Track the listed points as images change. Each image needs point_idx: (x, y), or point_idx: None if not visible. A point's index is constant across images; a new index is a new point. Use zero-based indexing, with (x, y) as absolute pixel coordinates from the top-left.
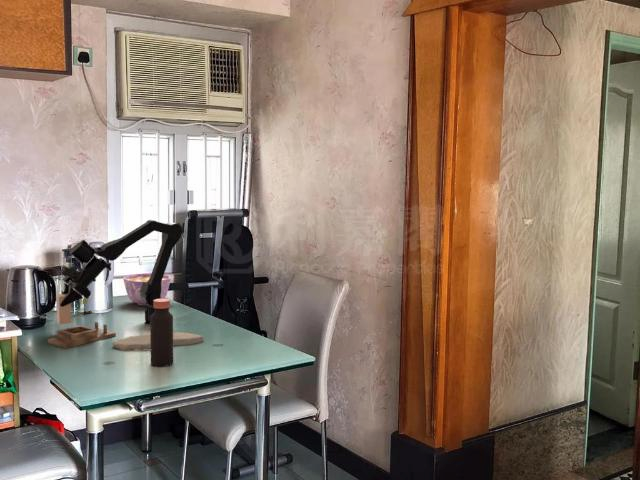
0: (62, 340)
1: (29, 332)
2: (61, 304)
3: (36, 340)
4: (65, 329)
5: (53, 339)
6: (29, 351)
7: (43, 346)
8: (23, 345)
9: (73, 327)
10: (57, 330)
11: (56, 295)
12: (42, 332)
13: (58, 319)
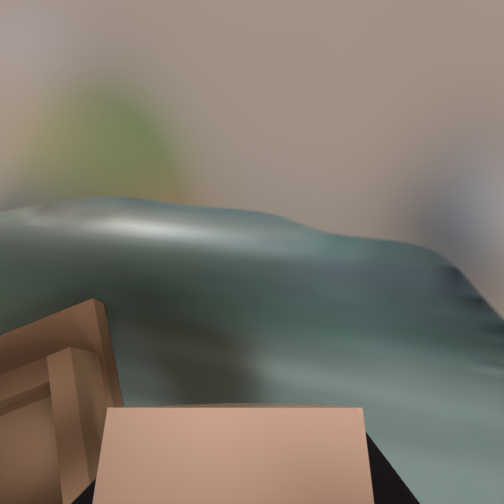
0: (15, 368)
1: (378, 248)
2: None
3: (183, 260)
4: (53, 409)
5: (69, 325)
6: (22, 212)
7: (55, 274)
8: (129, 200)
9: (70, 489)
10: (64, 349)
11: (338, 407)
12: (350, 314)
13: (256, 403)
